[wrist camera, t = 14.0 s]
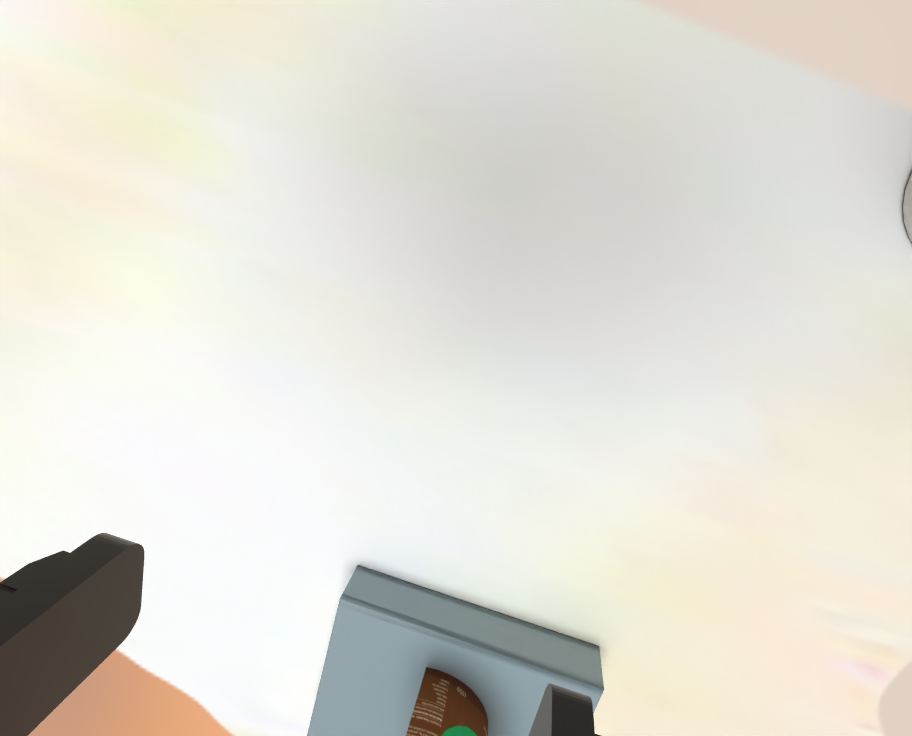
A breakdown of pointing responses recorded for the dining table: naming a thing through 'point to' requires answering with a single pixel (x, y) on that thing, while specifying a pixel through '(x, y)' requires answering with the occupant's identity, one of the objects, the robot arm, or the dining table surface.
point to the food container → (447, 708)
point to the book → (438, 660)
